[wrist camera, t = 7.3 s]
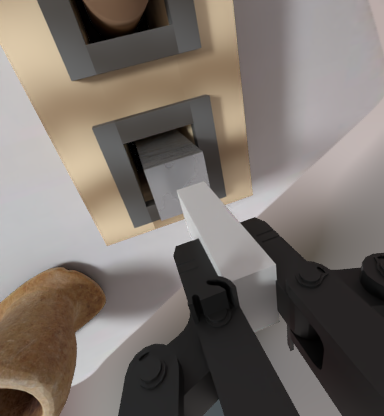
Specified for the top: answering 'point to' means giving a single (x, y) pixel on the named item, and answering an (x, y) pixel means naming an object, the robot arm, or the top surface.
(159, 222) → the oak block
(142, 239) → the top surface
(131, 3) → the walnut dowel
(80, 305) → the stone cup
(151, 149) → the metal pin
